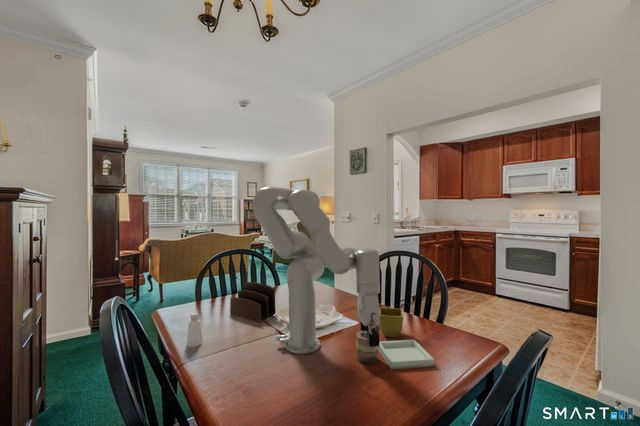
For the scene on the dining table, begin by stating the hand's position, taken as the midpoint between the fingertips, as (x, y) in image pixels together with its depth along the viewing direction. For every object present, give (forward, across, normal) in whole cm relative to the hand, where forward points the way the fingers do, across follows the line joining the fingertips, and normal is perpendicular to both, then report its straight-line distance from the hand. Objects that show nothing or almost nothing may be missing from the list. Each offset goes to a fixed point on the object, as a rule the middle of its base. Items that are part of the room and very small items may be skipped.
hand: (369, 339), depth 98 cm
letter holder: (+5, -46, -42) cm, 63 cm away
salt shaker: (+5, -20, -60) cm, 64 cm away
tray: (+7, 0, +12) cm, 14 cm away
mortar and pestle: (+7, 0, -1) cm, 7 cm away
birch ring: (+3, 0, -1) cm, 3 cm away
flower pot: (+7, -18, +14) cm, 23 cm away
